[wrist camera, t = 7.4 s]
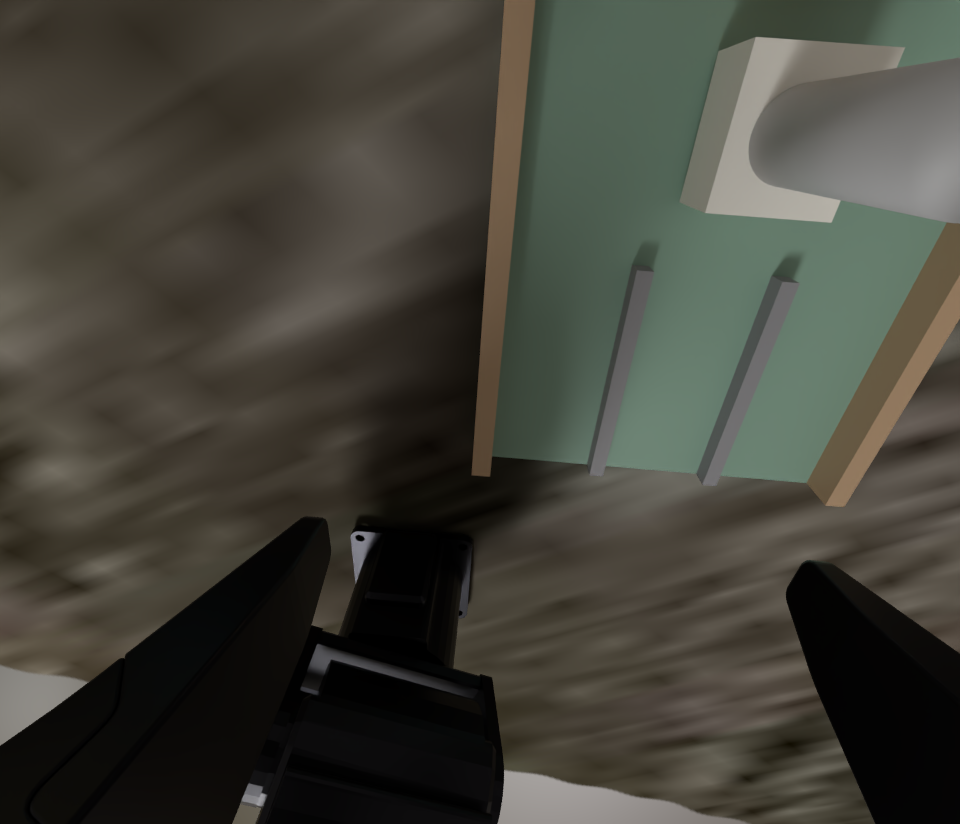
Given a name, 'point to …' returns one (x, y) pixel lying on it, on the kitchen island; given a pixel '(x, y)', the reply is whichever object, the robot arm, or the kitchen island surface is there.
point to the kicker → (826, 133)
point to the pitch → (691, 259)
